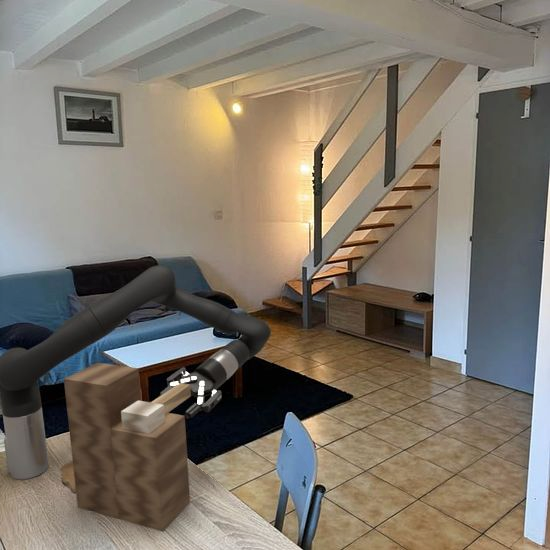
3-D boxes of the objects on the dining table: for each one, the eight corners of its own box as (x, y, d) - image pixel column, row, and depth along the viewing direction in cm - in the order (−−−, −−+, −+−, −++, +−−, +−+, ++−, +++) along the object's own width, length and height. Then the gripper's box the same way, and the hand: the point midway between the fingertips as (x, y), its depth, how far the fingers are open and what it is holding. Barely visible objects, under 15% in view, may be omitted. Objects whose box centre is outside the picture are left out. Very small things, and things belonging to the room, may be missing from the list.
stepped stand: (77, 507, 122) (63, 378, 116) (109, 482, 132) (97, 362, 126) (163, 531, 113) (152, 393, 107) (190, 502, 123) (181, 374, 117)
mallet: (122, 428, 114) (120, 411, 113) (174, 393, 132) (173, 378, 131) (148, 433, 111) (147, 416, 110) (197, 397, 129) (197, 381, 128)
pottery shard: (64, 498, 127) (63, 491, 126) (59, 467, 141) (59, 461, 140) (97, 489, 130) (97, 482, 130) (90, 459, 144) (89, 453, 144)
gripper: (197, 347, 139) (151, 382, 129) (238, 371, 133) (193, 411, 122) (198, 366, 144) (154, 402, 133) (237, 391, 137) (195, 431, 126)
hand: (173, 407), depth 128 cm, fingers open, 8 cm apart
